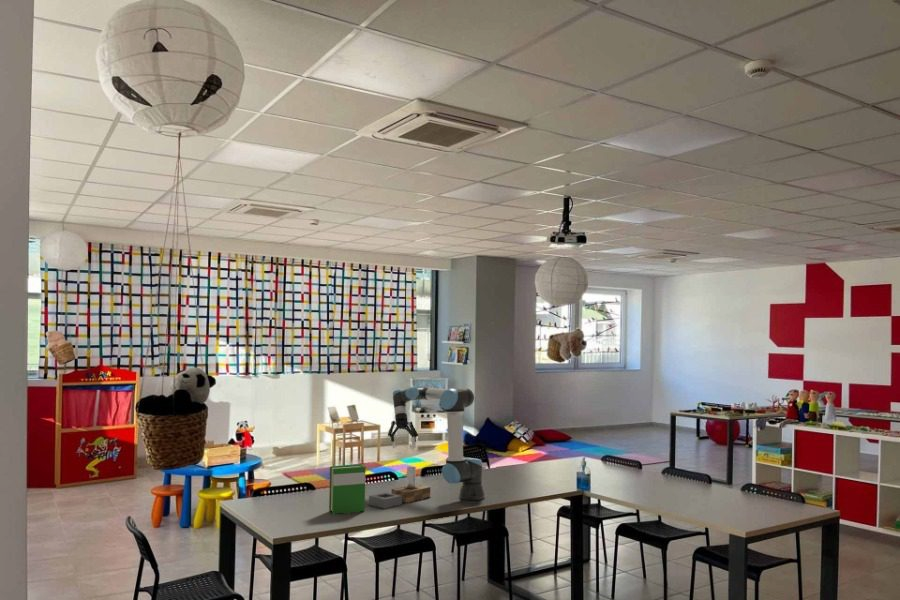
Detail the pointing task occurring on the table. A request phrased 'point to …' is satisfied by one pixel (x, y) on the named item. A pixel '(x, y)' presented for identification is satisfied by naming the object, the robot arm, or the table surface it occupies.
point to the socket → (385, 500)
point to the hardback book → (347, 489)
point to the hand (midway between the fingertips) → (404, 447)
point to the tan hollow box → (412, 493)
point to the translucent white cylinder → (411, 477)
